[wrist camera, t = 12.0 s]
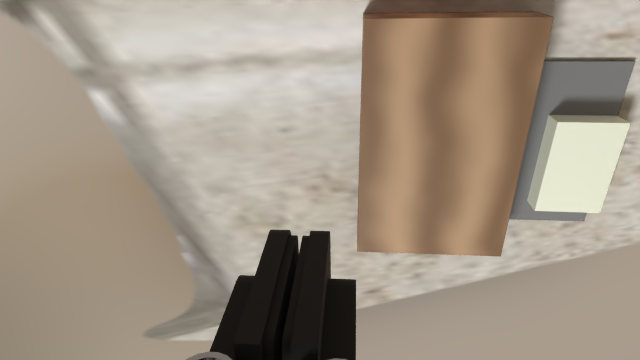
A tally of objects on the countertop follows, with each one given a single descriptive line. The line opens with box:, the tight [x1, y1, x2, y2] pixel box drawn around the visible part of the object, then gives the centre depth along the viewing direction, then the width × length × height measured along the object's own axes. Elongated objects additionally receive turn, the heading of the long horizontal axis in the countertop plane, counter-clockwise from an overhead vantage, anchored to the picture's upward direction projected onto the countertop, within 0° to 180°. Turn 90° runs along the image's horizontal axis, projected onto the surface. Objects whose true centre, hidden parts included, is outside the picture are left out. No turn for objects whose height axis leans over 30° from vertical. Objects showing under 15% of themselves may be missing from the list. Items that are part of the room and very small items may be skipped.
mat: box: [509, 61, 635, 221], centre depth 40 cm, size 9×16×1 cm, turn 1°
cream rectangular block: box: [527, 115, 631, 213], centre depth 39 cm, size 6×9×2 cm, turn 1°
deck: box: [357, 12, 554, 256], centre depth 38 cm, size 14×22×4 cm, turn 1°
